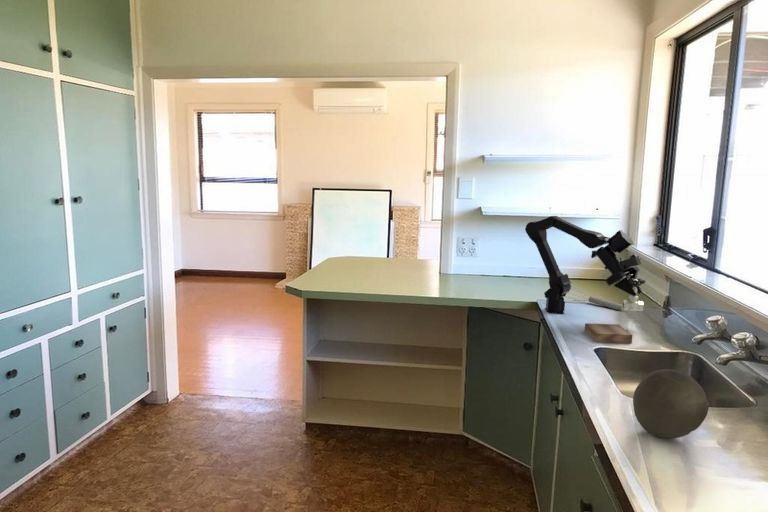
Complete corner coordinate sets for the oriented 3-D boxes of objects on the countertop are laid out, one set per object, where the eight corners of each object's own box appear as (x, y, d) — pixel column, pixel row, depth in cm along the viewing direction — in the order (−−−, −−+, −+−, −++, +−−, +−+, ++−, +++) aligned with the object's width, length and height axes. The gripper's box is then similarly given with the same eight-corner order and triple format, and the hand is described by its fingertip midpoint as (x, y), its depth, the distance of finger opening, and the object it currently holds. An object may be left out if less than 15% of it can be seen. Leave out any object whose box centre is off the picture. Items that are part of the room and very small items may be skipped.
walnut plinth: (595, 342, 182) (596, 333, 182) (584, 331, 194) (585, 323, 194) (631, 343, 182) (632, 334, 181) (618, 332, 194) (618, 324, 193)
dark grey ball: (641, 449, 113) (648, 381, 110) (623, 418, 127) (629, 358, 124) (713, 456, 111) (722, 388, 108) (687, 424, 124) (695, 363, 122)
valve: (644, 314, 194) (647, 281, 192) (624, 312, 196) (628, 280, 194) (639, 309, 201) (643, 278, 199) (620, 308, 202) (624, 277, 200)
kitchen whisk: (623, 313, 220) (625, 298, 219) (552, 297, 246) (553, 284, 245) (630, 311, 224) (632, 296, 223) (559, 295, 250) (560, 282, 249)
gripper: (618, 250, 190) (647, 285, 185) (636, 245, 203) (664, 278, 198) (594, 268, 197) (621, 303, 191) (613, 262, 210) (639, 294, 205)
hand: (638, 294), depth 196 cm, fingers closed on valve, 5 cm apart
